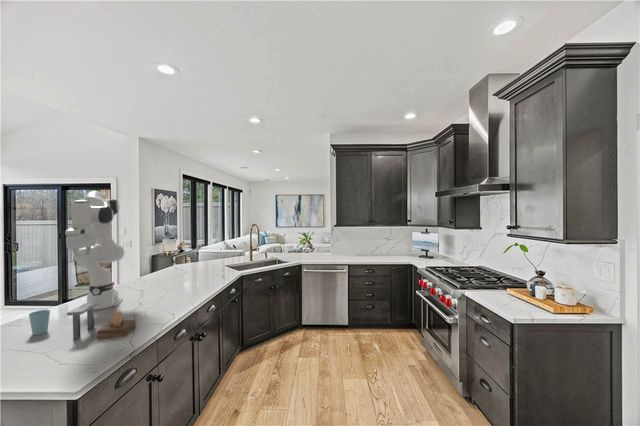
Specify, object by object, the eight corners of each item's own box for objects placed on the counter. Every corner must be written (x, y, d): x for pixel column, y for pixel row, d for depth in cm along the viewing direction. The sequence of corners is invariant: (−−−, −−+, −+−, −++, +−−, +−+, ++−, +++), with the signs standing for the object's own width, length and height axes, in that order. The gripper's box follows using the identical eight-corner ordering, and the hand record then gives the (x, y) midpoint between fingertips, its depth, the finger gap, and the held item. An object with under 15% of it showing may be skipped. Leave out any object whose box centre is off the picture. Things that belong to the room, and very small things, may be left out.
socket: (109, 329, 152) (109, 321, 152) (135, 327, 154) (135, 319, 154) (97, 339, 140) (97, 330, 140) (125, 336, 142) (125, 328, 142)
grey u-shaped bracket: (85, 328, 153) (85, 303, 153) (99, 327, 155) (98, 302, 154) (67, 340, 139) (67, 312, 139) (82, 339, 140) (81, 311, 140)
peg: (111, 334, 145) (111, 314, 145) (115, 331, 148) (114, 312, 148) (119, 333, 146) (119, 313, 146) (122, 331, 149) (122, 311, 149)
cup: (30, 337, 143) (30, 316, 143) (28, 333, 148) (27, 312, 148) (51, 332, 149) (51, 311, 149) (48, 328, 154) (48, 308, 154)
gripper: (86, 229, 166) (86, 253, 166) (62, 231, 146) (63, 259, 146) (98, 228, 168) (99, 253, 168) (77, 231, 148) (78, 258, 148)
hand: (82, 256), depth 157 cm, fingers open, 8 cm apart
